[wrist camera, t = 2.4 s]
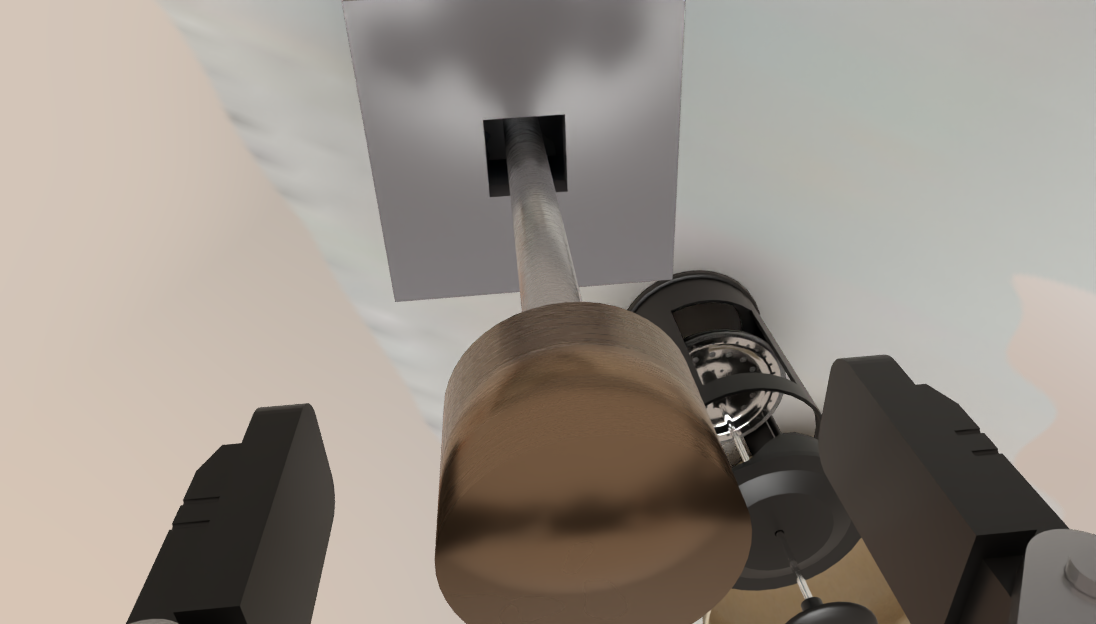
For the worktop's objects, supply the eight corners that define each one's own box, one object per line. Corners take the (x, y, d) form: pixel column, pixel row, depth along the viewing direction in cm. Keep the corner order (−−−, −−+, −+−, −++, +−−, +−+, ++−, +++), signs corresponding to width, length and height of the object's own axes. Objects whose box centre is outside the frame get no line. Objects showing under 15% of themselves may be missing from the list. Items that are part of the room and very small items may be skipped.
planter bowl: (700, 400, 52) (748, 517, 43) (908, 418, 55) (996, 532, 45) (647, 557, 60) (678, 684, 51) (830, 566, 63) (892, 689, 53)
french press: (582, 327, 48) (655, 646, 29) (697, 235, 45) (866, 518, 26) (689, 425, 53) (813, 752, 34) (799, 347, 50) (1004, 655, 31)
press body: (592, -73, 36) (686, -21, 20) (594, 114, 41) (672, 279, 25) (402, -62, 36) (341, 1, 20) (427, 126, 41) (395, 301, 24)
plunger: (585, -5, 29) (870, 341, 8) (588, 146, 32) (797, 675, 11) (429, 5, 28) (302, 390, 8) (447, 156, 31) (392, 719, 11)
